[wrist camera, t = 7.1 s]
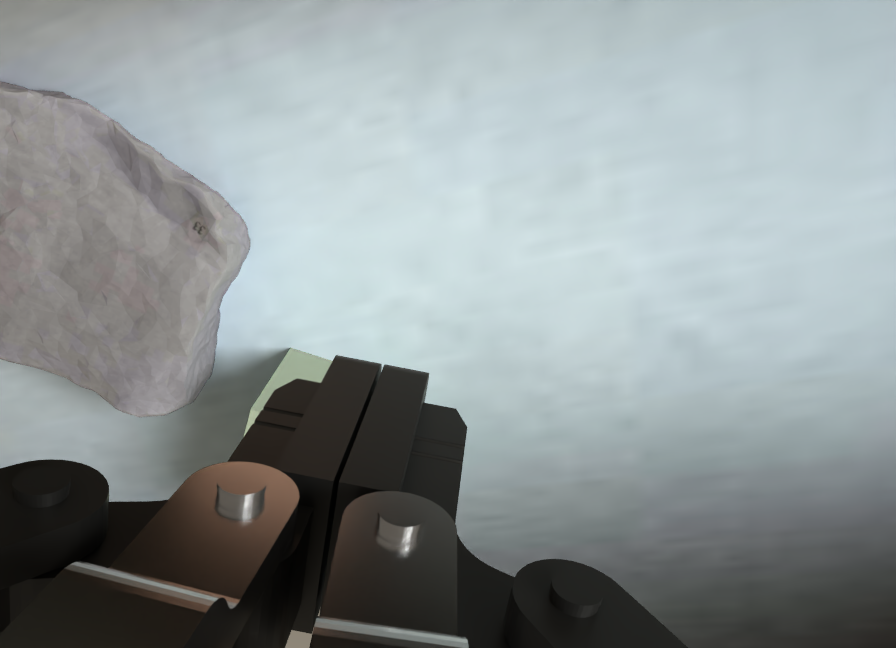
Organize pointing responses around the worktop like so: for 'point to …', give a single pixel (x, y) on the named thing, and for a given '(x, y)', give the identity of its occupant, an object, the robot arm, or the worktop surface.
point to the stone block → (108, 256)
